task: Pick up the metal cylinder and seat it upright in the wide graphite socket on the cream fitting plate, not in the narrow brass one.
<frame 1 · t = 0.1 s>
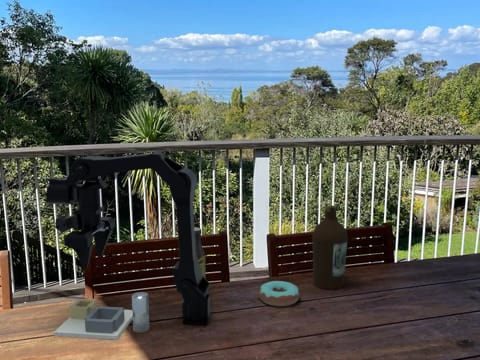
hand: (92, 262, 125), 15 cm above the table, tool pointing down, fingers open, 9 cm apart
sauce bottle: (195, 294, 140), on the table
metal cylinder: (141, 328, 119), on the table
fitting plate: (97, 324, 121), on the table
olive oil: (328, 284, 147), on the table
donut: (279, 300, 136), on the table
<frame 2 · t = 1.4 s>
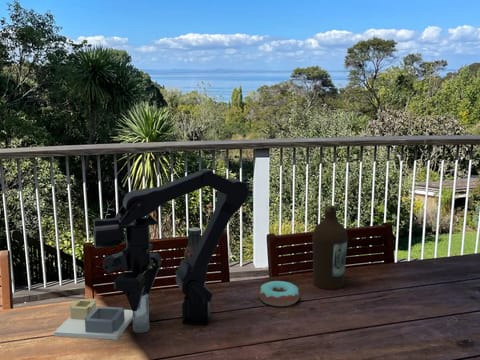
hand: (140, 302, 117), 7 cm above the table, tool pointing down, fingers open, 9 cm apart
nothing on the table moved.
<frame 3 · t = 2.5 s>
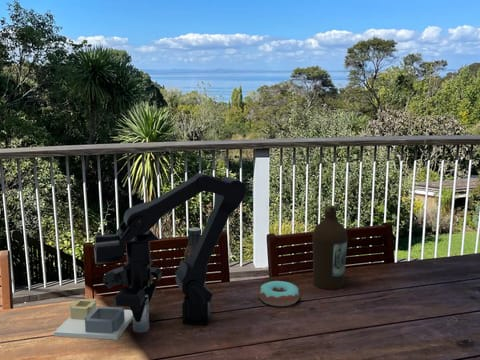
hand: (140, 317, 118), 3 cm above the table, tool pointing down, fingers closed on metal cylinder, 4 cm apart
metal cylinder: (141, 328, 119), on the table, touching gripper
everything else where it was.
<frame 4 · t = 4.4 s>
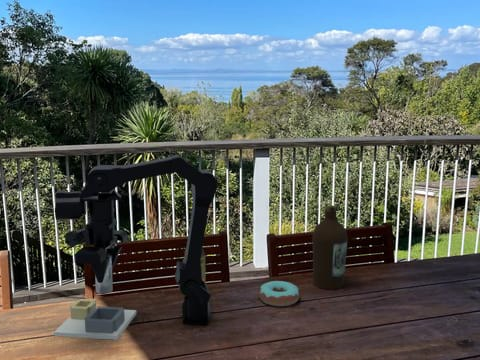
hand: (103, 279, 116), 13 cm above the table, tool pointing down, fingers closed on metal cylinder, 4 cm apart
metal cylinder: (104, 290, 117), point 10 cm above the table, touching gripper
everything else where it was.
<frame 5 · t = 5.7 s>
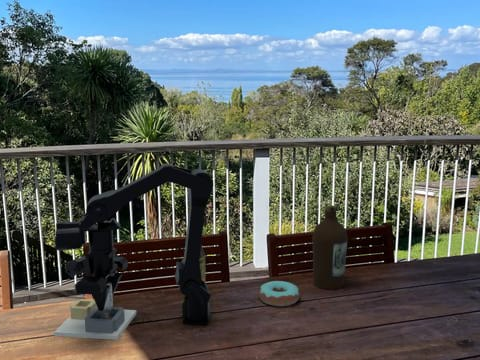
hand: (104, 306, 118), 6 cm above the table, tool pointing down, fingers closed on metal cylinder, 4 cm apart
metal cylinder: (105, 317, 118), point 3 cm above the table, touching gripper
everything else where it was.
when the fingers open (5 cm above the table, at t = 6.5 s): metal cylinder drops 1 cm, resting on fitting plate.
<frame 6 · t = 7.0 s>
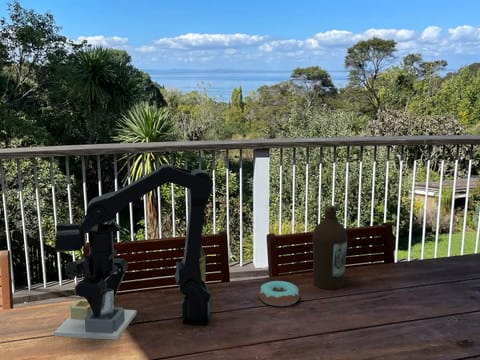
hand: (104, 308, 118), 5 cm above the table, tool pointing down, fingers open, 9 cm apart
metal cylinder: (105, 324, 118), point 1 cm above the table, touching fitting plate
everything else where it was.
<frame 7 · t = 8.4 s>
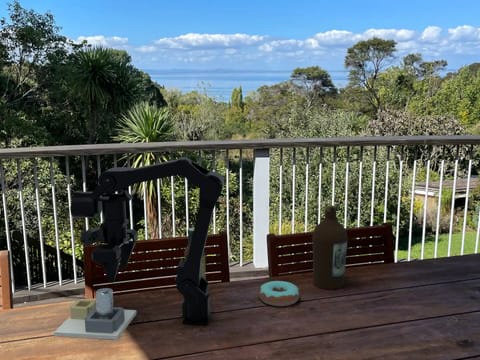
hand: (117, 275, 123), 12 cm above the table, tool pointing down, fingers open, 9 cm apart
nothing on the table moved.
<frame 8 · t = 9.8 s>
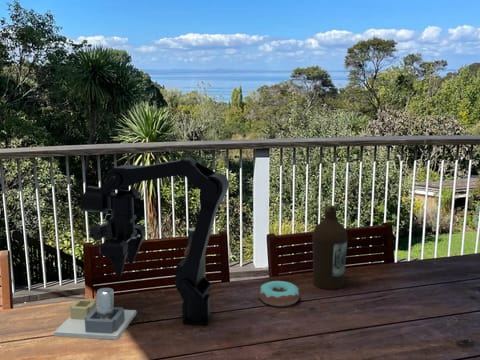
hand: (125, 269, 126), 12 cm above the table, tool pointing down, fingers open, 9 cm apart
nothing on the table moved.
at the end: metal cylinder 0.0 cm from the target spot on the fitting plate, point 1.1 cm above the fitting plate's base; metal cylinder tilted 3°; the gripper is holding nothing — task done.
